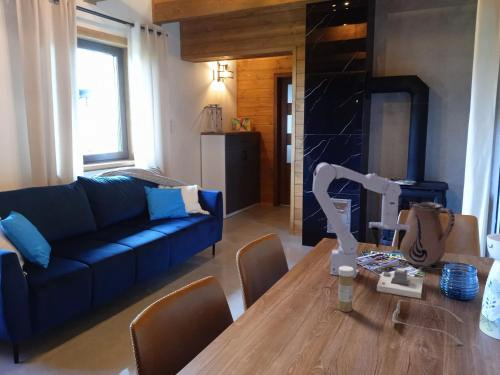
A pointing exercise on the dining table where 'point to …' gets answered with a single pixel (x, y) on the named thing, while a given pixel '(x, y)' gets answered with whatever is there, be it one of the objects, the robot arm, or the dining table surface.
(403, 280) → the plug
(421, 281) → the socket plate
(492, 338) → the dining table surface
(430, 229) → the ceramic pitcher
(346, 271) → the sprinkles bottle
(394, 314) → the eyeglasses
